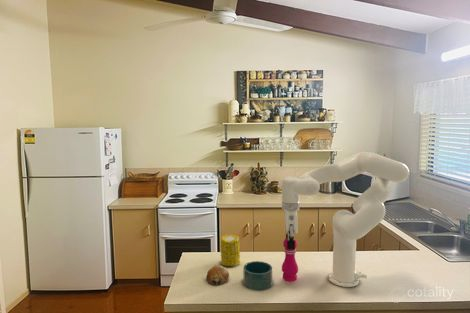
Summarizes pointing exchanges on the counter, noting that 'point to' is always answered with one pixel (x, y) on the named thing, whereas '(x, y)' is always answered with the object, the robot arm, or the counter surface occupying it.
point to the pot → (257, 275)
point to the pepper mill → (289, 263)
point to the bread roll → (217, 275)
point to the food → (230, 250)
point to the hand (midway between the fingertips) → (290, 245)
